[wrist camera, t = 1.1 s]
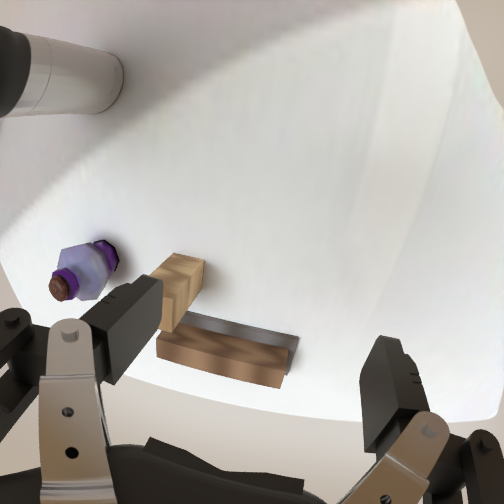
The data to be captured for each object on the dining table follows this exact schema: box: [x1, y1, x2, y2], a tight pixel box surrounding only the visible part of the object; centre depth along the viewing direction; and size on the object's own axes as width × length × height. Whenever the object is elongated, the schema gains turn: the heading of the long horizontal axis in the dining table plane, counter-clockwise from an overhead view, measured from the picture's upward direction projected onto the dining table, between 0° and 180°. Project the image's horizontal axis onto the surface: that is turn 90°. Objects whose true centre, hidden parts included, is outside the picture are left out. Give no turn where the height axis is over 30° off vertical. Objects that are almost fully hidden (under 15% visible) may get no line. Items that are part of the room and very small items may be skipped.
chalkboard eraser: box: [156, 311, 298, 389], centre depth 44 cm, size 20×7×6 cm, turn 81°
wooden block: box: [149, 253, 204, 333], centre depth 38 cm, size 4×4×11 cm
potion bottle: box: [49, 240, 119, 302], centre depth 40 cm, size 9×9×12 cm
